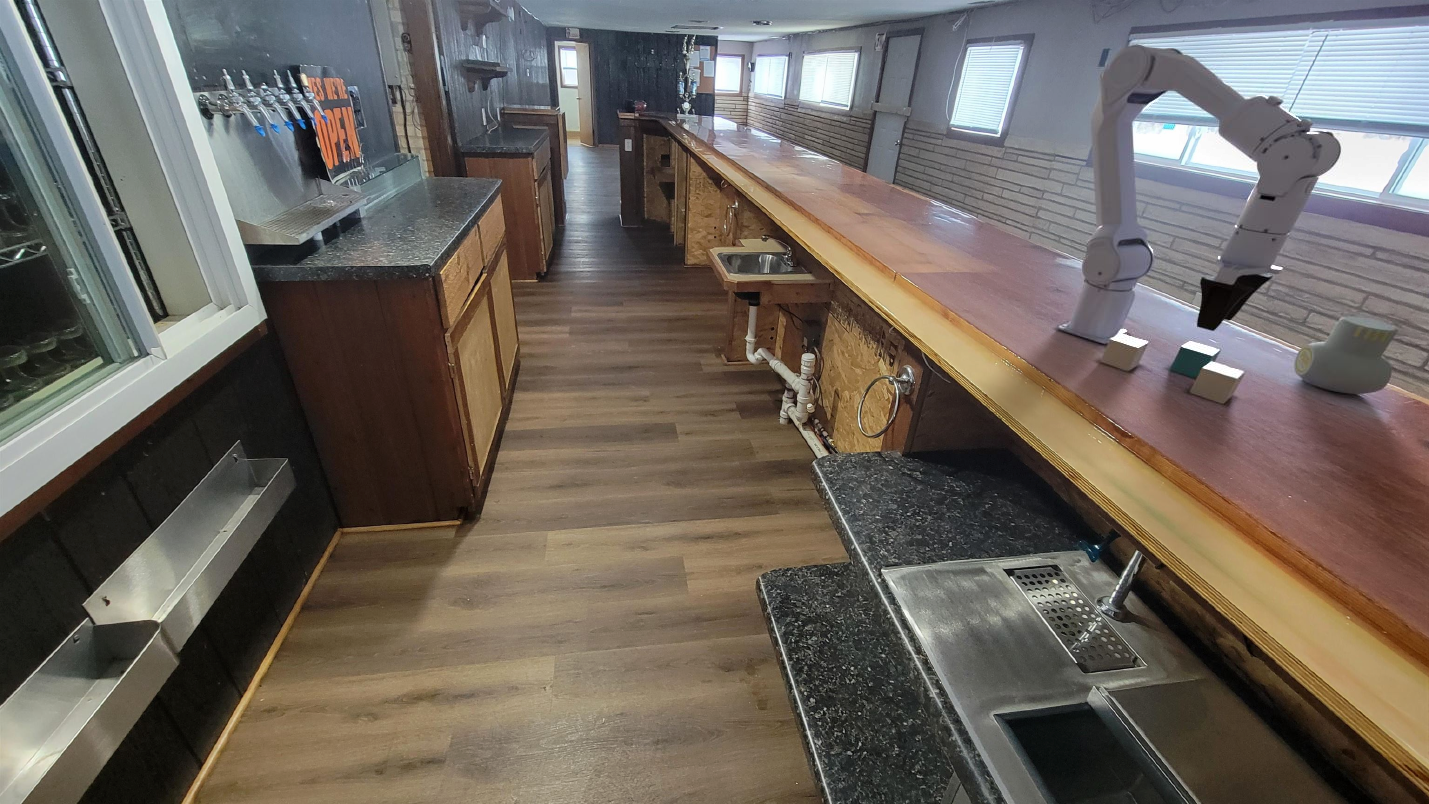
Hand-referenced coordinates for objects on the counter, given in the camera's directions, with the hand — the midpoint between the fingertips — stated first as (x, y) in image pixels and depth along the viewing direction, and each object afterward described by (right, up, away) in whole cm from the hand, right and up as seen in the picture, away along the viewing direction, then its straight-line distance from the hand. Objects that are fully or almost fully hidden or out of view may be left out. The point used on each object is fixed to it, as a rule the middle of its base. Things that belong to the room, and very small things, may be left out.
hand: (1213, 323), depth 83 cm
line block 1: (-10, -6, +6) cm, 13 cm away
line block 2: (-3, -11, -3) cm, 11 cm away
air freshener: (+19, -9, +2) cm, 21 cm away
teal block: (0, -7, +4) cm, 8 cm away
